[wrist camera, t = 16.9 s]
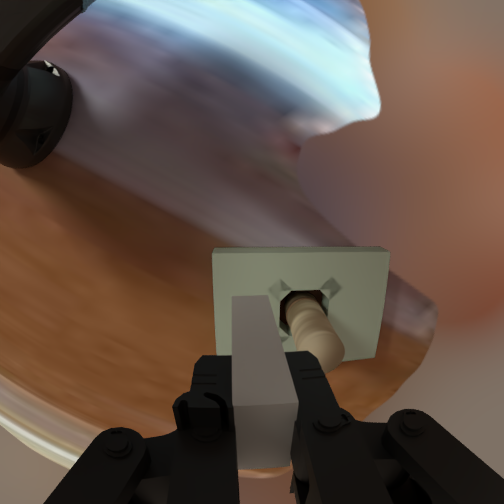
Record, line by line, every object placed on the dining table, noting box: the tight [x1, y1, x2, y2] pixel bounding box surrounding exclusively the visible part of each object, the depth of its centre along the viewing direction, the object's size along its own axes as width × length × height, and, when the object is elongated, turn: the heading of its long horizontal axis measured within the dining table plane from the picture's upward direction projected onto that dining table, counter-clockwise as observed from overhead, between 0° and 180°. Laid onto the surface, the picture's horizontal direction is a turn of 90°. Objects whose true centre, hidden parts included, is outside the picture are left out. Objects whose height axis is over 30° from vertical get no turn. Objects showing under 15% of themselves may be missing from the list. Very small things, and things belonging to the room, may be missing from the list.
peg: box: [284, 291, 345, 373], centre depth 30 cm, size 4×4×12 cm
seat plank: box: [212, 247, 390, 361], centre depth 35 cm, size 20×14×3 cm
